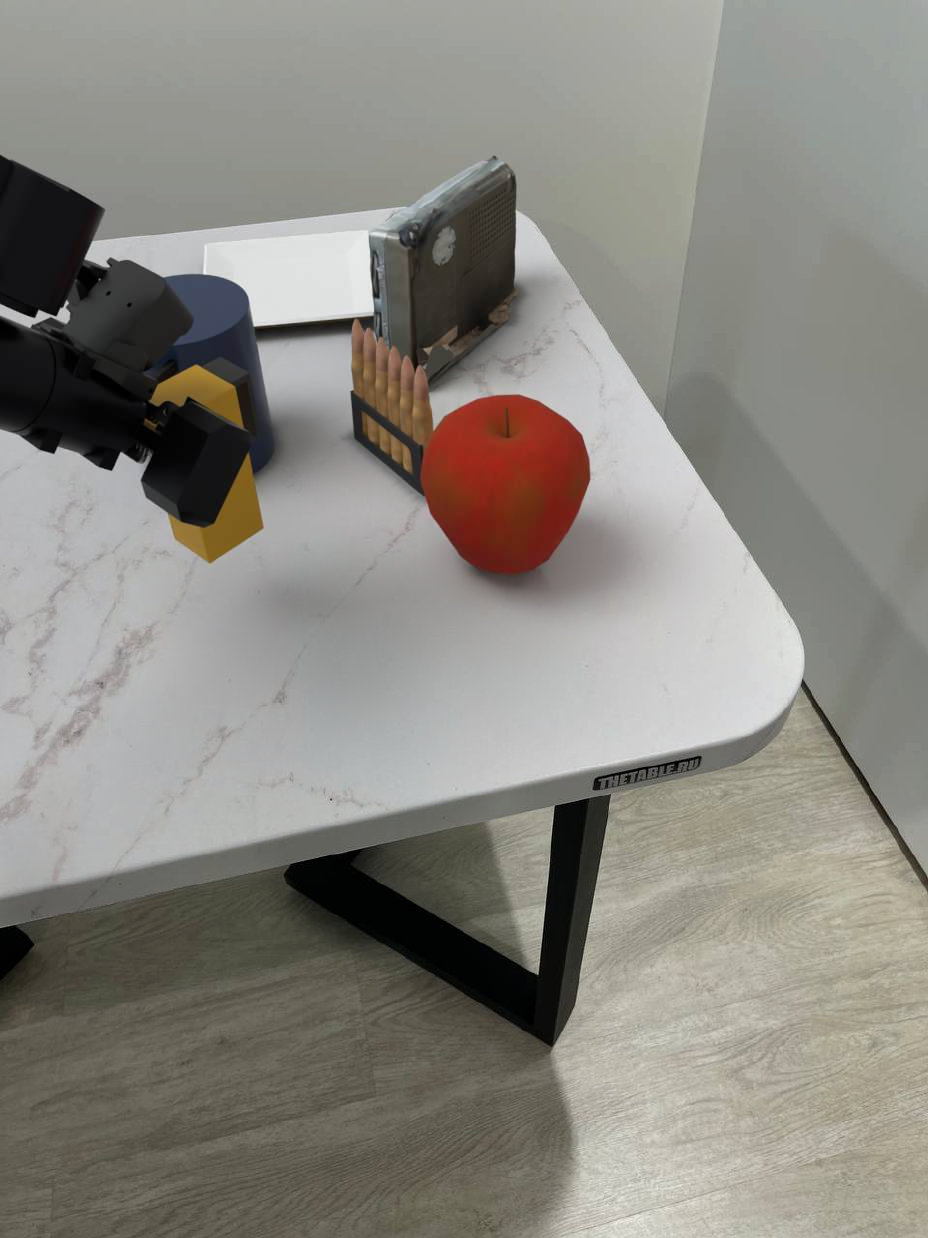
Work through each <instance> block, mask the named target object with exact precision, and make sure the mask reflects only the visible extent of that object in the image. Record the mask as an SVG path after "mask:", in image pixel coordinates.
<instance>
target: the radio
mask: <svg viewBox="0 0 928 1238" xmlns="http://www.w3.org/2000/svg"><path fill="white" fill-rule="evenodd" d="M517 186H518V185H517V179H516V173H515V172H514V170H513V169H512V168H511V167H510V166H509V164H507V163H506V162H505V161H503V160H501V159H499V158H498V157H497V156H496V155H493V156H492V157H490V158H488V159H485V160H480V161H478V162H476V163H474V164H473V165H472V166H470V167H467V168H465V169H463V170H461V171H460V172H459V173H457V174H455V175H454V176H452V177H451V178H450V179H448V180H446V181H445V182H442V183H441V184H439V185H438V186H437V187H435V188H433V189H432V190H431V191H429V192H428V193H425V194H423V195H422V196H421V198H420V199H419V200H417V201H414V202H413V203H411V204H409V205H408V206H406V207H404V208H401V209H398V210H397V211H395V212H394V213H392V214H391V215H390V216H389V217H388V218H387V219H386V220H385V221H384V222H382V224H380V225H378V226H376V227H374V228H373V229H371V230H370V231H371V232H370V234H369V247H370V259H371V260H370V272H371V282H372V297H373V303H374V318H373V330H374V334H375V335H374V337H375V341H376V344H377V343H378V340H379V338H380V337H383V339H384V341H385V343H386V345H387V348H388V351H389V355H390V351H391V348H392V346H395V347H396V349H397V350H398V353H399V355H400V359H401V363H403V360H404V357H405V356H406V355H408V356H409V358H410V360H411V362H412V365H413V368H414V373H416V370H417V367H418V366H419V365H421V366H422V367H423V369H424V371H425V374H426V377H427V382H428V386H430V384H432V383H433V382H434V381H435V380H436V379H438V378H439V377H440V376H442V375H443V374H444V373H445V372H446V371H447V370H449V369H450V368H451V367H452V366H453V365H454V364H456V363H457V362H458V361H460V360H461V359H462V358H463V357H464V356H466V354H468V353H469V352H470V351H471V350H472V349H474V348H475V347H476V346H477V345H479V344H480V343H481V342H482V341H483V340H485V339H486V338H487V337H488V336H489V335H490V334H492V333H493V332H495V330H497V329H498V328H499V327H500V326H502V325H503V324H504V323H505V322H507V320H509V318H510V317H509V315H510V314H511V312H510V310H509V304H510V302H511V301H512V300H513V299H514V298H515V297H517V296H518V295H519V293H520V291H519V290H518V289H517V288H516V287H515V278H516V246H517V245H516V243H517V211H516V210H517V189H518V188H517Z"/></svg>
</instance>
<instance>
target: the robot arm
mask: <svg viewBox="0 0 928 1238" xmlns="http://www.w3.org/2000/svg"><path fill="white" fill-rule="evenodd" d="M106 211H107V209H106V208H104V207H103V206H101V205H100V204H98V203H97V202H95V201H93V200H91V199H89V198H88V197H86V196H85V195H83V194H81V193H79V192H78V191H76V190H74V189H72V188H70V187H69V186H66V185H64V184H63V183H61V182H58V181H56V180H54V179H52V178H51V177H48V176H46V175H44V174H42V173H40V172H38V171H36V170H34V169H32V168H31V167H28V166H26V165H24V164H22V163H20V162H17V161H16V160H14V159H12V158H11V159H9V158H8V157H5V156H3V155H2V154H0V305H1V306H3V307H6V308H7V309H10V310H11V311H14V312H17V313H19V314H22V315H23V316H25V317H26V316H27V317H30V318H32V319H36V317H37V315H38V313H39V312H40V311H41V312H43V313H45V314H47V315H50V316H49V317H47V318H45V319H43V320H41V321H39V322H37V323H35V324H33V323H32V324H31V325H30V327H29V326H27V325H24V324H22V323H19V322H17V321H14V320H13V319H10V318H7V317H4V316H3V315H0V430H2V431H5V432H7V433H11V434H14V435H18V436H19V437H21V438H22V439H23V440H24V441H26V442H28V443H29V444H30V445H32V446H33V447H34V448H36V449H37V450H39V451H42V452H44V453H45V452H46V453H49V454H52V455H55V454H56V452H57V449H58V448H60V449H64V450H67V451H70V452H74V453H77V454H79V455H80V456H81V457H83V458H84V459H86V460H88V461H89V462H90V463H92V464H93V465H95V466H96V467H97V468H100V469H102V470H106V471H110V472H113V470H114V468H115V466H116V464H117V461H118V459H119V457H120V455H121V453H122V454H123V455H125V456H126V457H128V458H129V459H130V460H132V461H134V462H135V463H137V464H140V465H144V464H145V463H146V461H147V458H148V457H149V453H150V454H151V455H152V456H151V458H150V457H149V461H148V463H147V465H146V467H145V469H144V472H143V474H142V475H141V477H140V483H141V487H142V490H143V493H144V496H145V499H147V500H148V501H150V502H152V503H153V504H154V505H155V506H157V507H159V508H160V509H162V511H164V512H166V513H169V514H170V515H172V516H173V517H175V518H176V519H177V520H179V521H180V522H182V523H186V524H190V525H194V526H198V527H202V528H205V527H208V526H210V525H212V524H214V523H215V521H216V519H217V517H218V515H219V513H220V510H221V508H222V506H223V504H224V502H225V500H226V498H227V496H228V494H229V492H230V490H231V487H232V485H233V483H234V481H235V479H236V477H237V475H238V473H239V471H240V469H241V467H242V464H243V462H244V460H245V458H246V456H247V454H248V452H249V450H250V448H251V446H252V443H251V437H250V432H249V431H247V430H245V429H244V428H242V427H240V426H239V425H237V424H235V423H234V422H232V421H230V420H229V419H227V418H225V417H224V416H222V415H220V414H218V413H216V412H214V411H212V410H211V409H209V408H207V407H206V406H204V405H202V404H201V403H199V402H197V401H196V400H194V399H192V398H191V397H189V396H187V398H186V401H185V403H184V405H183V406H179V405H178V404H176V403H174V402H171V401H169V400H168V401H164V402H163V403H162V404H161V405H160V406H157V405H156V404H154V403H152V402H151V401H150V400H151V399H152V396H153V394H154V392H155V390H156V388H157V385H158V383H159V381H157V380H156V379H154V378H152V377H151V376H149V375H146V374H144V373H142V372H144V371H147V370H150V369H151V368H153V367H154V366H155V365H156V364H157V363H158V362H159V361H160V359H161V358H162V357H163V356H164V355H165V354H166V352H167V351H168V350H169V349H170V348H171V347H172V345H173V344H174V343H175V342H176V341H177V340H178V339H179V337H180V336H184V335H186V334H187V332H188V331H189V330H190V329H191V327H192V325H193V322H194V316H193V314H192V313H191V312H190V310H189V309H188V308H187V307H186V305H185V304H184V303H183V302H182V300H181V299H180V298H179V297H178V295H177V294H176V293H175V292H174V290H173V289H172V288H171V287H170V285H169V284H168V283H167V282H166V280H165V279H164V278H163V277H164V276H162V275H161V274H158V273H156V272H155V271H152V270H150V269H149V268H147V267H145V266H142V265H141V264H138V263H137V262H135V261H134V260H131V259H121V260H117V259H115V258H113V257H111V256H110V257H108V258H107V260H106V261H105V262H106V264H107V265H108V266H103V265H100V264H98V263H96V262H94V261H91V260H88V259H86V257H87V254H88V252H89V250H90V248H91V245H92V243H93V241H94V238H95V236H96V234H97V232H98V229H99V227H100V225H101V223H102V220H103V218H104V216H105V213H106ZM66 302H67V303H68V304H66ZM65 305H66V306H65ZM64 307H65V309H66V311H68V312H69V320H67V322H63V321H61V320H59V319H57V318H54V317H58V315H59V312H60V310H61V309H64ZM52 316H53V317H52ZM145 418H146V419H147V420H148V421H151V423H153V424H157V423H158V424H157V426H156V428H155V427H154V426H152V425H151V424H149V423H147V422H146V421H145Z"/></svg>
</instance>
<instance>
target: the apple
mask: <svg viewBox="0 0 928 1238" xmlns="http://www.w3.org/2000/svg"><path fill="white" fill-rule="evenodd" d="M590 460H591V459H590V456H589V453H588V449H587V446H586V442H585V440H584V436H583V434H582V433H581V432H580V430H578V429H577V428H576V426H574V425H573V423H572V422H571V421H570V420H568V418H565V417H564V416H562V415H561V414H559V413H558V412H556V411H555V410H553V409H552V408H550V407H549V406H547V405H546V404H544V403H542V401H539V400H537V399H535V398H531V397H528V396H525V395H523V394H495V395H490V396H485V397H481V398H479V397H478V398H476V399H474V400H471V401H470V402H467V403H466V404H463V405H461V406H460V407H457V408H456V409H454V410H453V411H450V412H449V413H447V414H445V415H443V417H442V418H441V420H440V421H439V423H438V424H437V425H436V426H435V428H433V432H432V434H431V437H430V439H429V442H428V445H427V448H426V450H425V453H424V456H423V461H422V469H421V477H420V480H421V483H422V487H423V490H424V494H425V495H424V497H425V500H426V504H427V507H428V510H429V514H430V515H431V517H432V518H433V520H434V521H435V522H436V524H437V525H438V527H439V529H440V530H441V531H442V533H443V534H444V536H445V537H446V538H447V540H448V541H449V542H450V544H451V545H452V546H453V548H454V549H455V551H456V552H457V554H458V555H459V556H460V557H461V558H462V559H463V560H465V561H466V562H468V563H469V564H470V565H471V566H473V567H475V568H477V569H481V570H483V571H486V572H489V573H492V574H503V575H517V574H521V573H527V572H530V571H533V570H535V569H537V568H539V567H540V566H542V565H543V564H545V563H546V562H547V561H549V560H550V559H551V557H552V556H553V555H554V553H555V552H556V550H557V549H558V547H559V545H561V543H562V541H563V540H564V538H565V537H566V536H567V534H568V533H569V532H570V529H571V528H572V525H573V524H574V522H575V520H576V518H577V516H578V514H579V513H580V509H581V506H582V504H583V501H584V498H585V495H586V493H587V490H588V488H589V485H590V482H591V480H592V479H591V461H590Z"/></svg>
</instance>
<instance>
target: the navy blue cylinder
mask: <svg viewBox="0 0 928 1238" xmlns="http://www.w3.org/2000/svg"><path fill="white" fill-rule="evenodd" d="M162 277H163V278H164V279H165V280H166V282H167V283H168V284H169V285H170V287H171V288H172V289H173V290H174V292H175V293H176V294H177V295H178V297H179V298H180V299H181V300H182V302H183V303H184V304H185V305H186V307H187V308H188V309H189V310H190V312H191V313H192V314H193V316H194V322H193V325H192V327H191V329H190V330H189V331H188V332H187V334H186V335H184V336H180V337H179V339H178V340H177V341H176V342H175V343H174V344H173V345H172V347H171V348H170V349H169V350H168V351H167V352H166V354H165V355H164V356H163V357H162V358H161V359H160V361H159V362H158V363H157V364H156V365H155V366H154V367H153V368H151V369H150V370H147V371H144V372H142V373H144V374H146V375H149V376H151V377H152V378H154V379H156V380H157V381H159V383H158V384H160V383H162V382H164V381H166V380H168V379H170V378H171V377H173V376H175V375H177V374H179V373H181V372H183V371H185V370H187V369H189V368H191V367H192V366H194V365H198V366H200V367H202V366H204V365H206V364H208V363H210V362H212V361H213V360H215V359H217V358H219V357H222V358H224V359H225V360H227V361H229V362H231V363H233V364H234V365H236V366H238V367H240V368H242V369H243V370H245V371H247V372H249V373H250V377H251V382H252V388H253V393H254V398H255V403H256V409H257V414H258V419H259V425H260V430H261V435H262V436H261V437H259V438H256V437H254V436H252V435H251V434H250V437H251V443H252V446H251V448H250V450H249V457H250V462H251V467H252V472H253V476H254V475H255V474H257V473H259V472H260V471H261V470H262V469H263V468H264V467H265V466H266V465H268V463H269V462H270V460H271V459H272V457H273V455H274V452H275V449H276V439H275V433H274V430H273V429H274V428H273V423H272V418H271V411H270V407H269V401H268V396H267V391H266V386H265V380H264V379H265V378H264V375H263V374H264V373H263V368H262V364H261V357H260V352H259V348H258V342H257V336H256V331H255V330H256V329H254V325H253V319H252V314H251V308H250V303H249V298H248V295H247V293H246V292H245V290H244V289H243V288H242V287H241V286H239V285H238V284H236V283H235V282H232V281H230V280H228V279H225V278H222V277H218V276H213V275H205V274H203V273H202V274H201V273H184V274H175V275H174V274H173V275H168V276H162ZM148 457H149V459H150V458H151V455H150V453H148Z"/></svg>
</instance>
